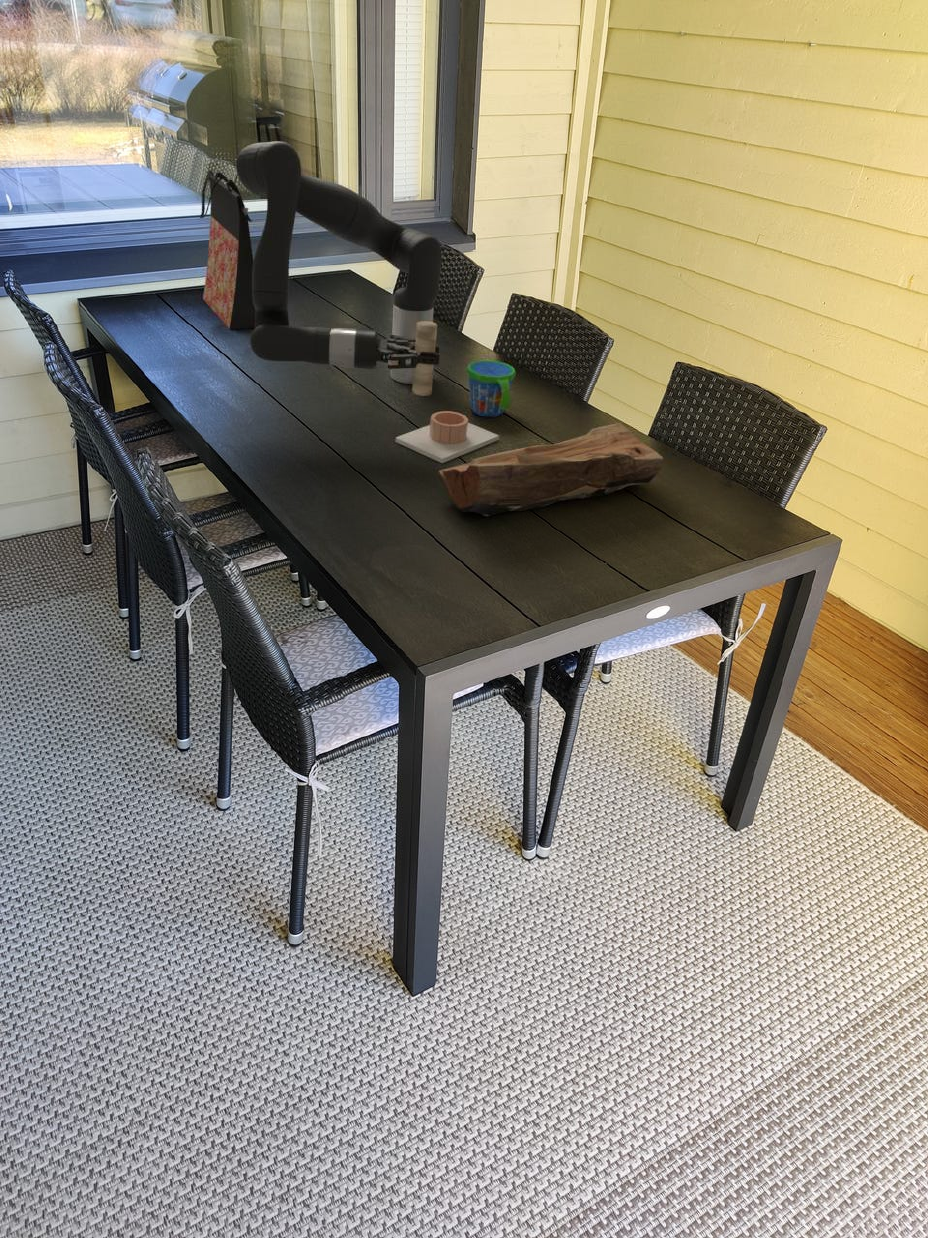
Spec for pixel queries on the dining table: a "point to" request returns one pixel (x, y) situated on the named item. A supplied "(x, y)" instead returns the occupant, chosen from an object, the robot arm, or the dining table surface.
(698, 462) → the dining table surface
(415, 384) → the ash dowel
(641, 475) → the log
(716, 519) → the dining table surface
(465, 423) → the ring
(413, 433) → the stand board
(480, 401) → the snack cup
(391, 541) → the dining table surface
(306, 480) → the dining table surface
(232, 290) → the gift bag
